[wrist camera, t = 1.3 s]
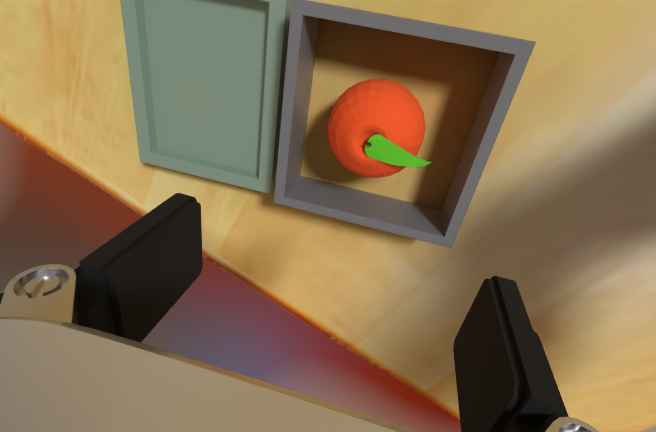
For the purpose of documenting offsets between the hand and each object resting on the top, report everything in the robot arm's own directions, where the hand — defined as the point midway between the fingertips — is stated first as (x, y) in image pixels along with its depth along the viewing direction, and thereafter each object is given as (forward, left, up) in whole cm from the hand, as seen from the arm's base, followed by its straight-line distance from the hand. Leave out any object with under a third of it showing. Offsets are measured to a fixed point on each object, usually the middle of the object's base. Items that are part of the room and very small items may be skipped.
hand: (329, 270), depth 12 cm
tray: (+15, 0, -20) cm, 25 cm away
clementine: (0, 0, -20) cm, 20 cm away
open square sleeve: (0, 0, -20) cm, 20 cm away
